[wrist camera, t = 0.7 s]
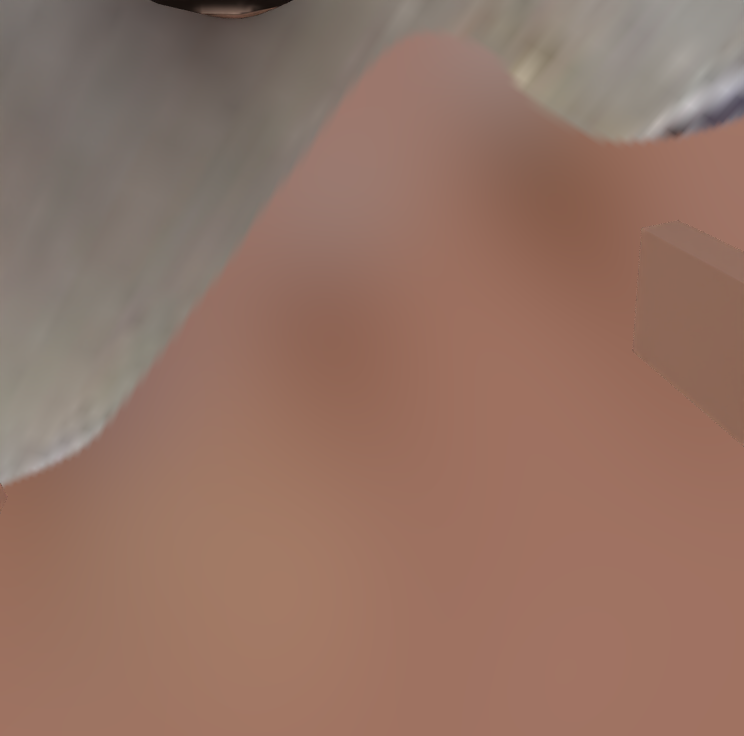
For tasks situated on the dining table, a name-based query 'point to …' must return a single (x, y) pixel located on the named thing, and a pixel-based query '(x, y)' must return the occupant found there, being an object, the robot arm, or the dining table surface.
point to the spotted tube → (225, 6)
